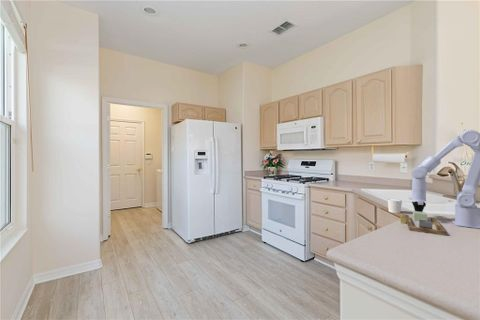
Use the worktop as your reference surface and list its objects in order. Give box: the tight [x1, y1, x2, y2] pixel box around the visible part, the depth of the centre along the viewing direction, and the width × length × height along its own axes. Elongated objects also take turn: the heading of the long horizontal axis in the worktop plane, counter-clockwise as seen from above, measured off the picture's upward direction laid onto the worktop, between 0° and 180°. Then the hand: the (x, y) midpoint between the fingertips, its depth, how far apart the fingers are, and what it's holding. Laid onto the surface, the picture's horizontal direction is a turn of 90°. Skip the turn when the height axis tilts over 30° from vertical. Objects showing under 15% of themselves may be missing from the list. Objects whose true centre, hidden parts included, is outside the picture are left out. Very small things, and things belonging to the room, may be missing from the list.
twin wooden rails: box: [405, 214, 447, 236], centre depth 105 cm, size 12×24×2 cm, turn 148°
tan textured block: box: [399, 213, 407, 225], centre depth 110 cm, size 2×3×4 cm, turn 148°
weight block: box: [418, 219, 434, 229], centre depth 99 cm, size 4×4×4 cm
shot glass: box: [387, 198, 403, 214], centre depth 130 cm, size 7×7×7 cm
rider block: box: [412, 210, 428, 222], centre depth 114 cm, size 5×5×4 cm
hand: (418, 216), depth 118 cm, fingers closed
